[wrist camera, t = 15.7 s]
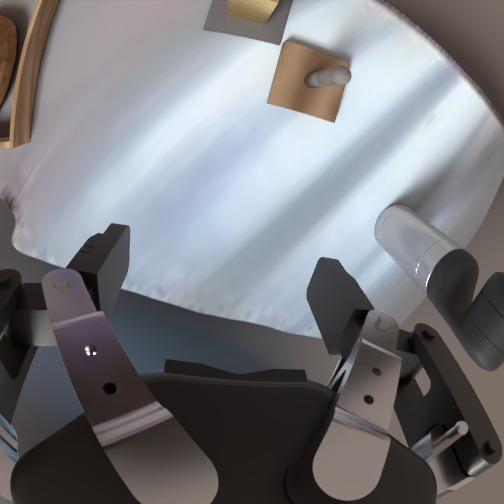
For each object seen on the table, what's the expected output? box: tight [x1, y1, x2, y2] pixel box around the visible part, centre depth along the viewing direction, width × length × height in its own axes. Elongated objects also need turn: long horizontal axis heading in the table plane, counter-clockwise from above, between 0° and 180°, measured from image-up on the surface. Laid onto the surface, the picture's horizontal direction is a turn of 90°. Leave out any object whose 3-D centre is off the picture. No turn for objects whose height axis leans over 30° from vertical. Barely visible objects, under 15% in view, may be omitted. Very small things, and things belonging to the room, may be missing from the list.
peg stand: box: [267, 41, 351, 122], centre depth 30 cm, size 10×10×13 cm
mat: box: [203, 0, 292, 45], centre depth 28 cm, size 11×11×1 cm
